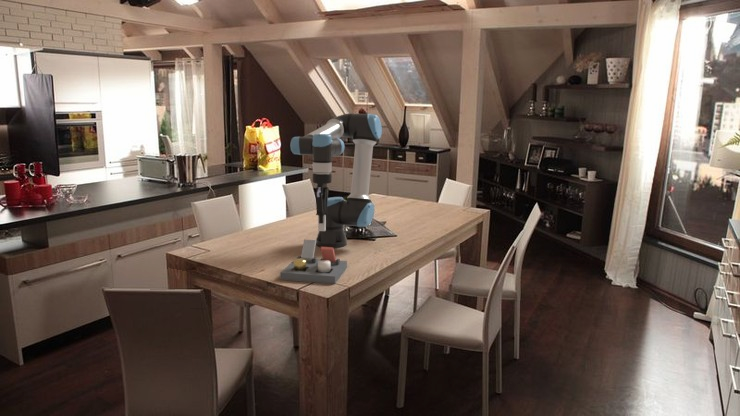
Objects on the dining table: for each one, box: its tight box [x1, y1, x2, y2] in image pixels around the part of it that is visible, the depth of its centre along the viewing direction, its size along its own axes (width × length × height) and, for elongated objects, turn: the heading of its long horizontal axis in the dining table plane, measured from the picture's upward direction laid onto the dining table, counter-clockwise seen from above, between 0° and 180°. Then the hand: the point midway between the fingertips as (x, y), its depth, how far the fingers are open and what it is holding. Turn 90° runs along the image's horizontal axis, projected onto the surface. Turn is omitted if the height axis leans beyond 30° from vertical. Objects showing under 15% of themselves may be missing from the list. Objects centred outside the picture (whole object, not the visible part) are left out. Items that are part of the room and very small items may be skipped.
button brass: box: [293, 258, 306, 271], centre depth 200 cm, size 5×5×4 cm
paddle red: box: [320, 247, 337, 264], centre depth 204 cm, size 2×5×9 cm
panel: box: [280, 255, 348, 285], centre depth 203 cm, size 20×22×5 cm
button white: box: [318, 260, 331, 273], centre depth 198 cm, size 5×5×4 cm
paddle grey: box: [300, 239, 317, 262], centre depth 210 cm, size 2×5×9 cm
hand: (321, 230), depth 204 cm, fingers closed
